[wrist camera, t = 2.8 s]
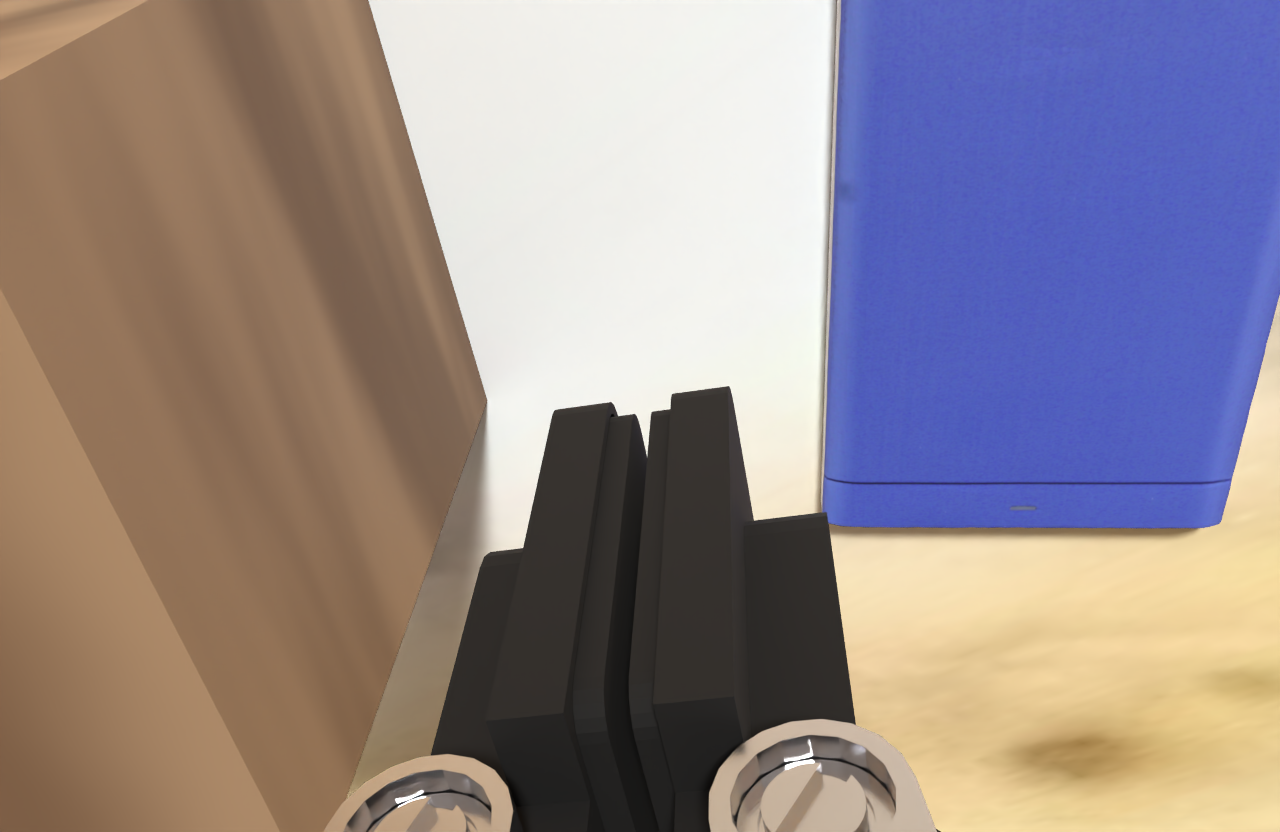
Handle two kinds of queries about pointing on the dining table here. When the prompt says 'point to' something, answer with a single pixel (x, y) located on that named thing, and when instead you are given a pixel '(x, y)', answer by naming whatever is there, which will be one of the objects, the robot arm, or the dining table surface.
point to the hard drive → (1048, 259)
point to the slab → (211, 409)
